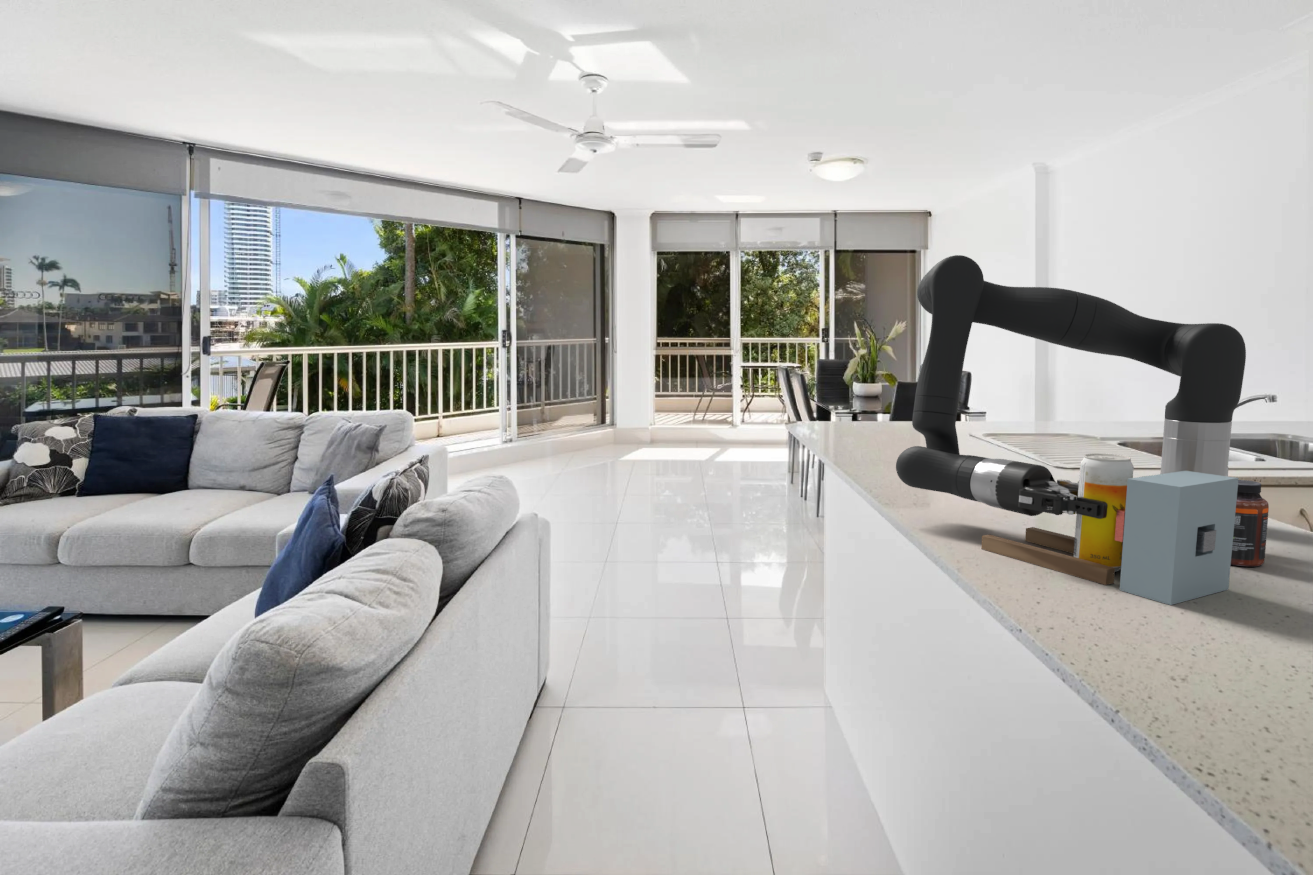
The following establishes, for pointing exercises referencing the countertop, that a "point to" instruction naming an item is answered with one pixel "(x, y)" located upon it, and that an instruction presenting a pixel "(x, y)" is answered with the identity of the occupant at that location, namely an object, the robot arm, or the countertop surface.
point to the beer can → (1108, 484)
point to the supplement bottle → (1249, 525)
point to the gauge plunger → (1204, 535)
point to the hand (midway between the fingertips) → (1121, 508)
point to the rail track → (1049, 554)
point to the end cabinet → (1177, 535)
